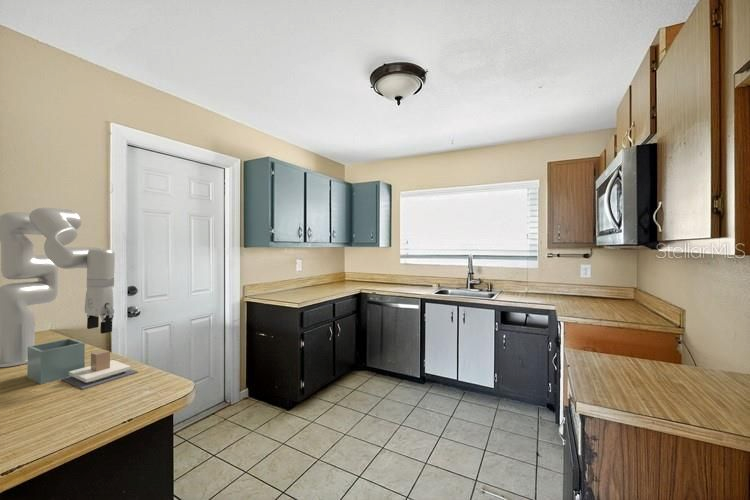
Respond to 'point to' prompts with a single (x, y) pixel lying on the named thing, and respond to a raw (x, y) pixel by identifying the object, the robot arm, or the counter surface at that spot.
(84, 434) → the counter surface
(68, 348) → the teal storage bin
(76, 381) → the mat
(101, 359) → the lid
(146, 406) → the counter surface
